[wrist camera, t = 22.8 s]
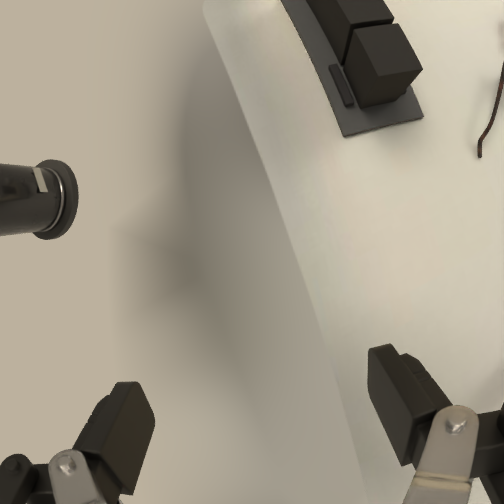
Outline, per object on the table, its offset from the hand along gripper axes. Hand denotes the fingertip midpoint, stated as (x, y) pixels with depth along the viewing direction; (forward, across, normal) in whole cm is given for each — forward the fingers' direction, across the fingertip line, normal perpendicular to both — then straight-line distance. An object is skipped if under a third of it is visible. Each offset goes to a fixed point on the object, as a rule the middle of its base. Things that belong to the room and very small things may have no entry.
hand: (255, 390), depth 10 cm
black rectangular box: (+24, +16, +15) cm, 32 cm away
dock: (+26, +15, +20) cm, 36 cm away
